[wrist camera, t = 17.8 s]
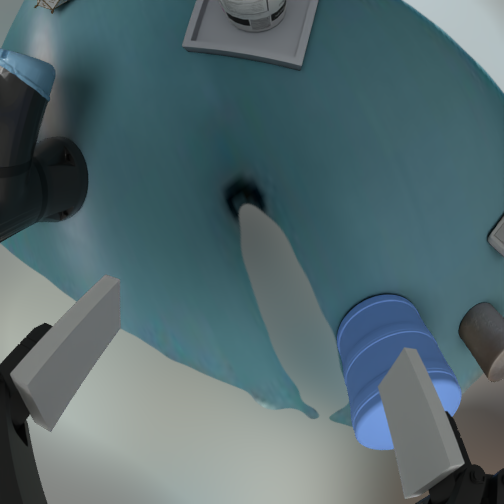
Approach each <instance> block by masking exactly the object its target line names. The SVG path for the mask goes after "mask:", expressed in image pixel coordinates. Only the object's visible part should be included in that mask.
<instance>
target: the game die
mask: <svg viewBox="0 0 504 504" xmlns="http://www.w3.org/2000/svg"><path fill="white" fill-rule="evenodd" d="M67 1H68V0H37V5H36V6H35V7H34V8H36V7H37V6H41V7H44V8H47V9H50V10H52V11H51V13H52V14H53V12H54V9H56V8H57V7H59V6H60V5H62V4H63V3H65V2H67Z"/></svg>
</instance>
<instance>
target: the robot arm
mask: <svg viewBox="0 0 504 504" xmlns="http://www.w3.org/2000/svg"><path fill="white" fill-rule="evenodd" d="M55 75H56V73H55V69H54V67H53V66H52V65H51V64H49V63H47V62H44V61H42V60H39V59H36V58H33V57H30V56H27V55H24V54H20V53H17V52H13V51H9V50H5V49H2V48H0V243H1V242H2V241H4V240H6V239H7V238H9V237H11V236H13V235H14V234H16V233H18V232H20V231H22V230H23V229H25V228H27V227H29V226H31V225H32V224H34V223H36V222H59V221H63V220H65V219H67V218H69V217H71V216H73V215H74V214H75V213H76V212H77V211H78V210H79V209H80V208H81V206H82V204H83V202H84V200H85V197H86V193H87V186H88V174H87V168H86V164H85V160H84V158H83V155H82V153H81V152H80V150H79V149H78V147H77V146H76V145H75V144H74V143H73V142H72V141H70V140H69V139H67V138H64V137H52V138H47V139H44V140H42V141H40V142H39V143H37V144H36V142H37V138H38V134H39V130H40V126H41V123H42V119H43V116H44V113H45V109H46V106H47V103H48V102H49V100H50V97H49V96H50V92H51V89H52V86H53V83H54V79H55ZM120 328H121V324H120V279H117V278H114V277H111V276H108V275H104V276H103V277H102V278H101V279H100V280H99V281H98V282H97V283H96V284H95V285H94V286H93V287H92V288H91V289H90V290H89V291H88V292H87V293H85V294H84V295H83V296H82V297H81V298H80V299H79V300H78V301H77V302H76V303H75V304H74V305H73V306H72V307H71V308H70V309H69V310H68V311H67V312H66V313H65V314H64V315H63V316H62V317H61V319H59V321H58V322H57V323H56V324H55V325H54V326H51V325H49V324H47V323H44V324H42V325H40V326H38V327H36V328H34V329H33V330H32V331H31V332H30V333H29V334H28V335H27V336H26V338H24V339H23V340H22V341H21V342H20V345H19V344H18V346H17V347H16V348H15V349H14V350H13V351H12V352H11V353H10V354H9V355H8V356H7V357H6V358H5V360H4V361H3V362H2V363H1V364H0V504H47V501H46V498H45V495H44V491H43V488H42V485H41V481H40V478H39V474H38V470H37V467H36V462H35V459H34V454H33V449H32V445H31V440H30V434H29V428H28V423H27V421H26V419H27V417H28V416H29V415H31V417H32V418H33V420H34V422H35V423H37V424H38V425H40V426H41V427H43V428H45V429H47V430H48V431H50V432H51V431H52V429H53V428H54V426H55V425H56V423H57V421H58V420H59V418H60V416H61V415H62V413H63V412H64V410H65V409H66V407H67V405H68V404H69V402H70V400H71V399H72V398H73V396H74V395H75V393H76V392H77V390H78V389H79V387H80V386H81V384H82V382H83V381H84V380H85V378H86V377H87V375H88V374H89V372H90V370H91V369H92V367H93V366H94V365H95V363H96V362H97V360H98V358H99V357H100V356H101V355H102V353H103V352H104V350H105V349H106V347H107V346H108V345H109V343H110V342H111V340H112V339H113V338H114V336H115V335H116V333H117V332H118V331H119V329H120ZM378 389H379V393H380V396H381V400H382V403H383V407H384V411H385V414H386V418H387V422H388V426H389V430H390V434H391V438H392V442H393V446H394V450H395V454H396V459H397V464H398V468H399V473H400V478H401V483H402V488H403V493H404V498H405V499H406V498H412V497H417V496H420V495H422V494H423V493H425V492H426V491H427V490H429V494H430V495H428V496H427V497H425V498H423V499H422V500H420V501H419V502H417V503H415V504H504V468H503V469H501V470H500V471H499V472H497V473H496V474H495V475H490V474H485V472H484V470H483V469H482V468H481V467H480V466H478V465H475V464H474V465H472V464H471V462H470V460H469V457H468V454H467V451H466V449H465V446H464V444H463V441H462V438H460V433H459V431H458V430H457V429H458V428H457V426H456V423H455V421H454V419H453V418H452V416H451V415H450V414H449V413H448V411H445V410H444V408H443V406H442V403H441V401H440V399H439V396H438V394H437V392H436V390H435V387H434V385H433V383H432V381H431V379H430V377H429V374H428V372H427V370H426V368H425V366H424V364H423V362H422V360H421V358H420V356H419V354H418V352H417V350H416V349H412V348H405V347H404V348H403V350H402V352H401V353H400V355H399V356H398V358H397V359H396V361H395V362H394V364H393V365H392V367H391V368H390V370H389V371H388V373H387V374H386V376H385V377H384V379H383V380H382V381H381V383H380V384H379V386H378Z"/></svg>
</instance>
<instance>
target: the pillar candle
mask: <svg viewBox="0 0 504 504" xmlns="http://www.w3.org/2000/svg"><path fill="white" fill-rule="evenodd" d="M459 336H460V337H461V339H462V340H463V341H464V343H465V344H466V346H467V347H468V349H469V350H470V352H471V353H472V355H473V356H474V358H475V359H476V361H477V362H478V364H479V366H480V367H481V369H482V370H483V372H484V373H485V375H486V376H487V378H488V379H489V380H490V381H491V382H496V381H500V380H502V379H504V318H503V317H502V316H501V315H500V313H499V312H498V311H497V310H496V309H495V308H494V307H493V306H492V305H491V304H489V303H480V304H477V305H476V306H474V307H473V308H472V309H470V310H469V311H468V313H467V314H466V315H465V317H464V318H463V320H462V322H461V325H460V328H459Z"/></svg>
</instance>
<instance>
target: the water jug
mask: <svg viewBox="0 0 504 504" xmlns="http://www.w3.org/2000/svg"><path fill="white" fill-rule="evenodd" d="M337 346H338V350H339V353H340V355H341V360H342V365H343V373H344V380H345V384H346V386H347V391H348V396H349V402H350V407H351V420H352V425H353V429H354V431H355V436H356V439H357V440H358V442H359V443H360V444H362V445H363V446H365V447H367V448H371V449H376V450H390V449H394V446H393V442H392V438H391V434H390V430H389V426H388V422H387V418H386V414H385V411H384V407H383V403H382V400H381V396H380V393H379V389H378V386H379V384H380V383H381V381H382V380H383V379H384V377H385V376H386V374H387V373H388V371H389V370H390V368H391V367H392V365H393V364H394V362H395V361H396V359H397V358H398V356H399V355H400V353H401V352H402V350H403V348H404V347H405V348H412V349H416V350H417V352H418V354H419V356H420V358H421V360H422V362H423V364H424V366H425V368H426V370H427V372H428V374H429V377H430V379H431V381H432V383H433V385H434V387H435V390H436V392H437V394H438V396H439V399H440V401H441V403H442V406H443V408H444V410H445V411H448V413H449V414H450V415H451V416H453V415H454V413H455V412H456V410H457V408H458V406H459V404H460V401H461V389H460V386H459V384H458V381H457V378H456V376H455V374H454V373H453V371H452V369H451V368H450V366H449V365H448V364H447V362H446V360H445V358H444V356H443V355H442V353H441V351H440V349H439V348H438V345H437V343H436V341H435V339H434V337H433V335H432V334H431V333H430V331H429V330H428V329H427V327H426V326H425V324H424V322H423V321H422V319H421V318H420V315H419V313H418V311H417V310H416V308H415V307H414V305H413V304H412V303H411V302H410V301H408V300H407V299H405V298H403V297H401V296H397V295H390V294H387V295H379V296H375V297H372V298H369V299H367V300H365V301H363V302H361V303H359V304H358V305H356V306H355V307H354V308H353V309H352V310H351V311H350V312H349V313H348V314H347V315H346V316H345V318H344V319H343V321H342V322H341V324H340V327H339V329H338V333H337Z"/></svg>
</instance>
